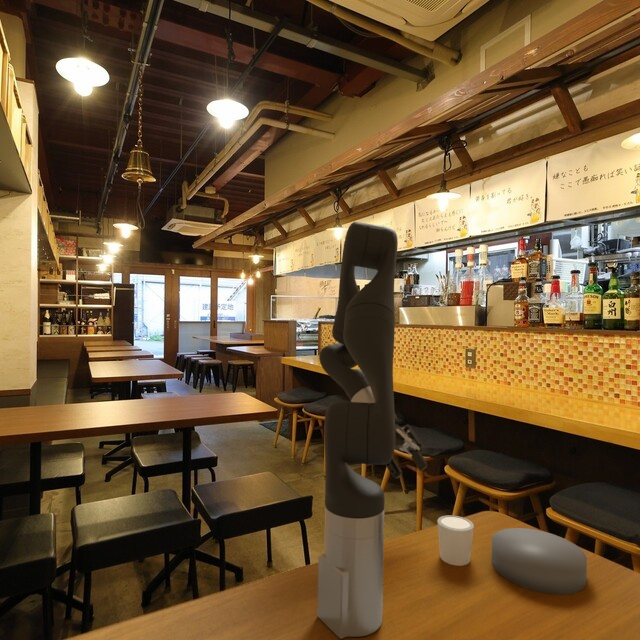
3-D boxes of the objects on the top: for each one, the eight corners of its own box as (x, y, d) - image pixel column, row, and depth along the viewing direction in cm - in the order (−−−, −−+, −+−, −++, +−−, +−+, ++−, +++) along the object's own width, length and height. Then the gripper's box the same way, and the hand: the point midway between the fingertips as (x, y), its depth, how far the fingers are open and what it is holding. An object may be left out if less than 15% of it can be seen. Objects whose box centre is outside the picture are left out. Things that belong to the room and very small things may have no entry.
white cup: (445, 545, 93) (446, 511, 93) (478, 557, 89) (479, 521, 89) (430, 558, 88) (431, 522, 88) (465, 571, 83) (465, 533, 83)
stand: (557, 605, 74) (557, 581, 74) (474, 561, 87) (474, 541, 87) (603, 576, 83) (603, 554, 83) (521, 540, 96) (521, 521, 96)
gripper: (360, 403, 98) (400, 470, 90) (402, 397, 108) (442, 457, 99) (343, 423, 102) (380, 488, 94) (384, 415, 112) (422, 474, 103)
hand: (412, 472), depth 96 cm, fingers open, 8 cm apart
